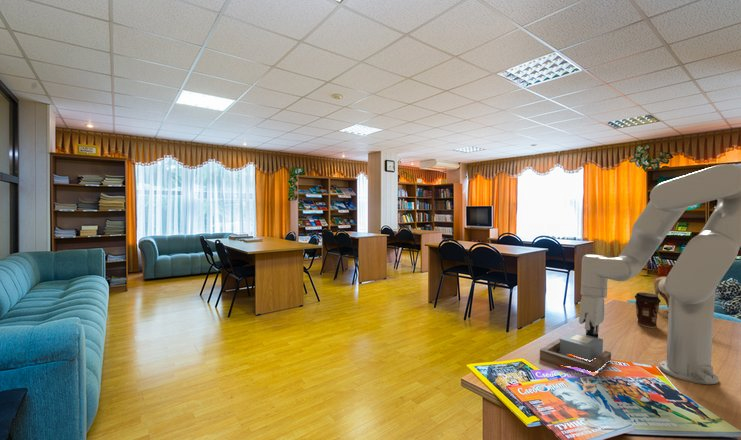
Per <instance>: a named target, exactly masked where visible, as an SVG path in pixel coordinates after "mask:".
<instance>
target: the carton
mask: <svg viewBox="0 0 741 440" xmlns="http://www.w3.org/2000/svg"><path fill="white" fill-rule="evenodd" d="M559 338H560V351H559V354H561V355H564V356H567V355H566V354H572V355H575V356H578V357H581V358H584V359H588V360H592V359H594V358H597V357H598V356H600V355H601V354H602V353H603V352H604V349H603V348H604V339H603V338H599V337H598V338H596V337H592V336H588V335H586V333H585V334H584V333H581V332H576V331H572V332H570V333H568V334H566V335H564V336H562V337H559Z"/></svg>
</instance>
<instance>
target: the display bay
mask: <svg viewBox="0 0 741 440" xmlns="http://www.w3.org/2000/svg"><path fill="white" fill-rule="evenodd" d="M560 338H561V337H559V338H557V339H556V340H554V341H553V342H551V343H549V344H547V345H545V346H544V347H542V348H540V349H539V360H542V361H543V362H547V363H549V364H550V363H551V364H553V365H556V366H559V365H563V366H571V367H578V368H581V369H585V370H588V371H591V372H595V371H597V370H598V369H599V368H601V367H602V366H603V365H604V364H605V363H606V362H608V361H610V360H611V361H612V359H611V358H612V352H611V351H607V350H605V351H603V353H602V354H601V355H600V356H598V357H597V358H596V359H595V360H593V361H592V362H591V363H589V362H586V361H583V360H580V359H577V358H573V357H570V356H567V355H564V354H561V353H560Z"/></svg>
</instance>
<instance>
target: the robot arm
mask: <svg viewBox="0 0 741 440" xmlns="http://www.w3.org/2000/svg"><path fill="white" fill-rule="evenodd" d="M649 199H650V200H649V201H648V202H647V205H646V206H645V207H644V209H643V210H642V212H641V214H640V215H639V216H638V217H637V219H636V220H635V222H634V223H633V225H632V229H631V236H630V238H629V240H628V242H627V243H626V245H625V247H624V248H623V250H622V251H621V252H620V254H619V255H618V256H617V257H607V256H605V255H602V254H600V255H599V254H584V255H583V256H582V258H581V275H580V276H581V277H580V278H581V281H580V295H581V299H580V305H579V316H578V317H579V318H578V322H579V324H580V325H582V324H584V323H585V324H584V330H585V335H588V336H592V337H596V338H599V332H600V331H599V329H600V328H599V327H600V325H601V324H602V323H603V322H604V319H605V299H606V298H607V297H608V280H612V281H615V282H626V281H628V280H630V279H632V278H635V277H637V275H638V274H640V273H641V271H642V270H643V268H644V267H645V266H646V265H647V264H648V262H649V260H650V259H651V258H652V256H653V255H654V253H655V252H656V250H657V249H658V247H659V246H660V245H661V244H662V243H663V241H664V239H665V238H666V237H667V235H668V234H669V232H670V231H671V230H672V229H673V227H674V226H675V224H676V223H677V222H678V220H679V219H680V218H681V216H682V215H683V214H684V212H685V211H686V210H687V209H688V208H689V207H693V206H696V205H697V206H698V205H701V204H704V203H708V202H711V201H716V200H717V203H716V207H715V208H714V210H713V211H712V213H711V214H710V216H709V218H708V220H707V222H706V224H705V225H704V226H703V228H702V229H701V231H700V232H699V233H698V234H697V235H695V236H694V237H692V238H691V239H690V240H689V241H688V242H687V244H686V245H685V246H684V247H683V250H682V252H681V253H680V255H679V256H678V258H677V259H676V261H675V262H674V264H673V266H672V267H671V268H670V270H669V272H668V274H667V276H665V277H666V280H665V288H666V291H667V293H668V294H669V295H670V300H669V313H668V315H667V316H668V318H667V339H666V340H667V342H666V360H663V361H660V362H659V367H658V368H660V370H661V371H662V372H663V373H665V374H667V375H669V376H672V377H674V378H676V379H679V380H682V381H686V382H689V383H690V382H691V383H695V384H701V385H715V384H718V382H719V379H720V378H719V376H718V375H717V374H716V373H715V372H713V371H714V366H712V355H713V354H712V351H713V335H714V332H713V331H714V318H715V315H714V314H715V301H716V290H717V286H718V285H719V283H720V282H721V281H722V280H723V278H724V276H725V275H726V274H727V272H728V271H729V269H730V268H731V266H732V265H733V264H734V261H735V260H736V258H737V256H738V253H739V250H740V248H741V167H740V166H739V165H734V164H727V163H724V164H717V165H716V164H715V165H713V166H711V167H707V168H704V169H701V170H698V171H694V172H692V173H691V172H690V173H688V174H686V175H682V176H678V177H675V178H672V179H669V180H666V181H662V182H660V183H658V184H657V185H655V186H653V188H652V189H651V191H650V194H649Z"/></svg>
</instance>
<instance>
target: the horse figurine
mask: <svg viewBox="0 0 741 440" xmlns="http://www.w3.org/2000/svg"><path fill="white" fill-rule="evenodd" d="M666 277H667V276H659V277H657V278H655V279H654V284H653V290H654V294H655V295H657V296H658V297H659V295H660V296H661V297H662V298H663V299H664V301H665V303H666V308H667V313H668V312H669V300H670V295H669V294H668V293H667V291H666V288H665V280H666Z"/></svg>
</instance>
